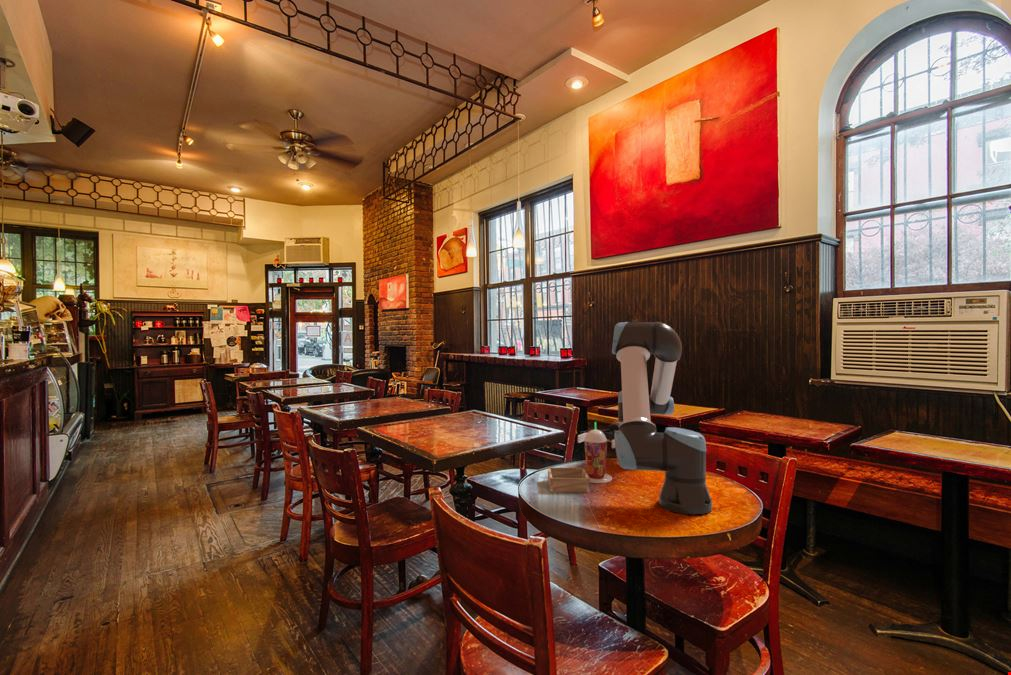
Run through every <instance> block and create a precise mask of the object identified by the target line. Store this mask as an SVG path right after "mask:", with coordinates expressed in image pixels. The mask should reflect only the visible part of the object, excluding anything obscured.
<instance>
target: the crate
mask: <svg viewBox="0 0 1011 675" xmlns="http://www.w3.org/2000/svg"><path fill="white" fill-rule="evenodd" d="M586 472H587V471H586V468H585V467H550V466H549V467H547V483H548V482H549V483H548V487H550V488H549V492H550V491H551V492H550V493H590V483H589V477H588V475H587V473H586Z"/></svg>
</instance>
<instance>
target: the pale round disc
mask: <svg viewBox="0 0 1011 675" xmlns="http://www.w3.org/2000/svg"><path fill="white" fill-rule="evenodd" d="M586 473H587V471H586ZM587 475H588V474H587ZM588 477H589V476H588ZM612 480H613V477H612V475H610V474H608V473H605V474H604V477H603V478H601V479H594V478H590V477H589V484H606V483H607V484H608V483H610V482H612Z"/></svg>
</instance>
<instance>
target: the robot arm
mask: <svg viewBox="0 0 1011 675" xmlns="http://www.w3.org/2000/svg"><path fill="white" fill-rule="evenodd" d="M682 351H683V345H682V341H681V339H680V336H679V335H678V333H677V332H676V330H674V329H673V328H672V327H671V326H669V324H667V323H664V322H661V321H654V322H653V321H652V322H651V321H650V322H649V321H648V322H646V321H644V322H643V321H641V322H629V321H624V322H617V323H616V324H615V325H614V329H613V337H612V347H611V353H612V355H616V359H617V361H618V362H620V371H621V372H620V373H621V374H620V375H621V376H620V377H621V391H619V392H618V398H617V399H618V401H617V403H618V404H617V414H618V415H617V422H614V423H611V424H609V425H608V426H607V427H606V429H601V428H596V429H597V430H600V431H602V432H603V433H604V435H605V437H606V439H607V441H610V442H611V449H615V454H616V459H617V463H618V465H619V467H620V468H622V469H625V470H633V471H653V472H654V471H656V472H664V481H663V484H662V487H661V489H660V492H659V496H658V503H659V505H660V507H661V508H663V509H665V510H668V511H669V510H670V512H672V511H673V513H676V512H677V513H676V514H681V515H688V514H690V516H692V515H693V516H696V515H695V514H702V515H706V514H705V513H707V514H709V513H711V512H712V511H711V510H713V509H712V508H713V502H712V497H711V495H710V493H709V490H708V486H707V481H706V479H707V478H706V476H707V475H706V473H707V472H706V471H707V465H706V460H707V457H706V455H707V446H706V445H707V444H706V438H705V436H704V435H703V434H701V433H700V432H698V431H694V430H690V429H687V428H683V427H674V426H673V427H671V426H670V427H669V426H668V427H665V430H664V432H657V426H656V424H654V423H653V422H652V421H651V420H652V419H651V415H656V416H657V415H660V416H665V415H668V416H669V415H673V414H674V410H675V408H674V407H675V402H674V398H673V397H672V396H671V394H672V388H673V384H674V383H673V382H674V377H675V373H676V369H677V368H676V367H677V362H678V361H679V360H680V359H681V357H682V353H683V352H682ZM651 355H654V357H655V360H654V361H655V362H654V369H653V375H652V384H651V390H650V395H649V383H648V382H649V381H648V371H647V370H648V369H647V361H648V360H650V357H651ZM591 430H592V429H591ZM591 430H590V429H588V430H584V431H583V430H580V431H579V434H578V435H577V443H578V444H580V443H582V442H584V438H585V437H586V435H587V433H588V432H589V431H591ZM710 511H711V512H710ZM691 514H692V515H691Z"/></svg>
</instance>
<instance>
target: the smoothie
mask: <svg viewBox="0 0 1011 675" xmlns="http://www.w3.org/2000/svg"><path fill="white" fill-rule="evenodd" d="M597 429H598V428H597V421H595V422H594V429H591V431H589V430H588V431H589V432H588V433H587V435H586V437H585V438H584V441H583V442H584V453H585V467H586V468H585V471H586V472H587V474H588V476H589V477H590V478H594V479H601V478H603V477H604V474H605V473H606V471H607V469H606V467H607V452H608V451H607V448H608V440H607V439H606V437H605V435H604V433H603V432H602V431H600V430H601V429H600V430H597ZM606 474H607V473H606Z"/></svg>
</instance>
